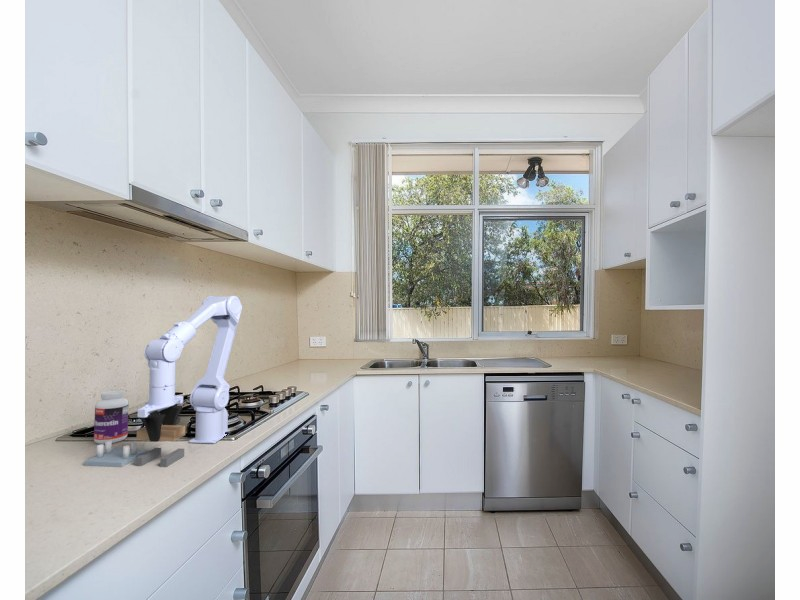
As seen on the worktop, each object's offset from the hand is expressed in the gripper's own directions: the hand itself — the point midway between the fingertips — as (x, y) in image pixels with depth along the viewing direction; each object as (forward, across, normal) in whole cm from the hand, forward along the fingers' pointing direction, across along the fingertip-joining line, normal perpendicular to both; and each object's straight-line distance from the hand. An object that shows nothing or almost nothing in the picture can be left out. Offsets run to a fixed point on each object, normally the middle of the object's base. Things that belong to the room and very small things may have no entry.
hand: (161, 437), depth 100 cm
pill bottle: (+6, -13, -25) cm, 29 cm away
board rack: (+6, 0, 0) cm, 6 cm away
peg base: (+6, 0, -12) cm, 13 cm away
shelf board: (0, 0, 0) cm, 0 cm away
